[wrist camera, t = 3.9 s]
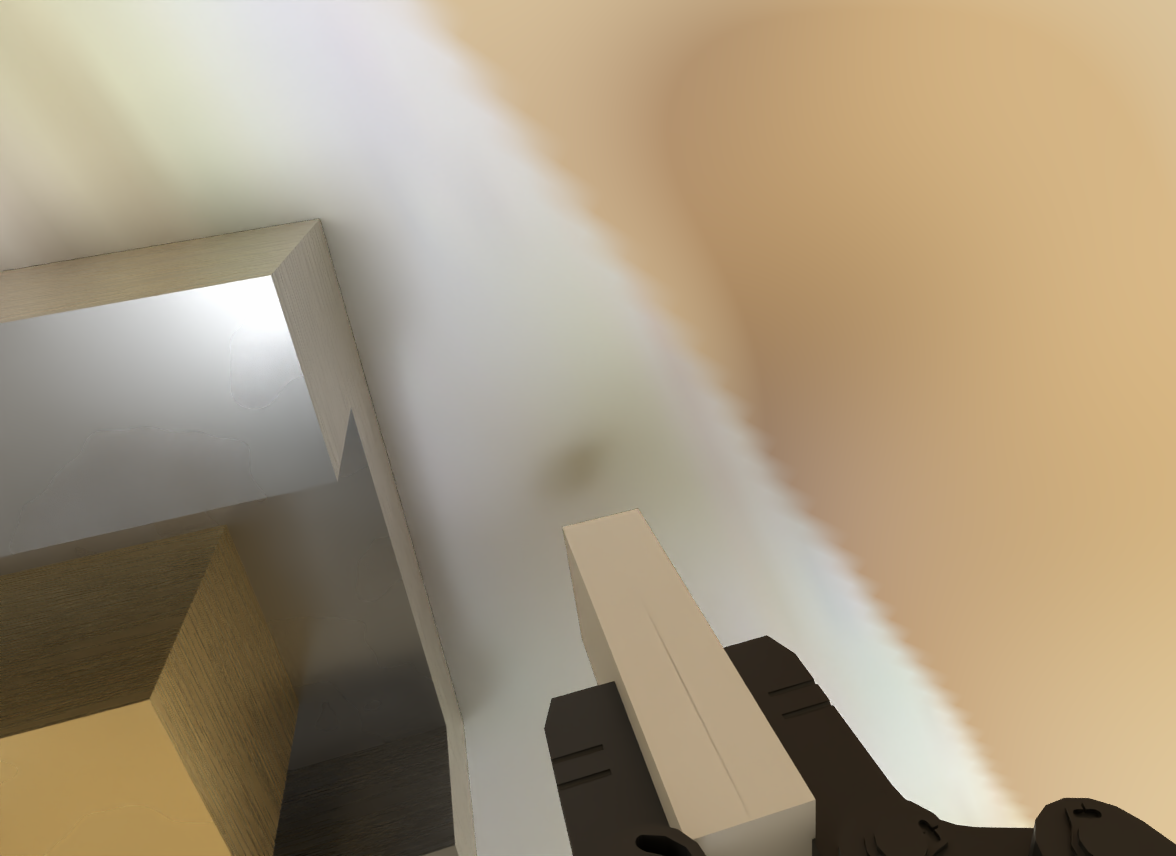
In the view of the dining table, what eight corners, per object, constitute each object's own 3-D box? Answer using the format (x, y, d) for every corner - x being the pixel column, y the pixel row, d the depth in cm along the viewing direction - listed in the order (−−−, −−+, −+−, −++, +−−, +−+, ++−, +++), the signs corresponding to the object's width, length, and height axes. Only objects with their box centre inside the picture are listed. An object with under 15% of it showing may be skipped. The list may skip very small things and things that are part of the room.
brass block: (71, 765, 14) (-59, 1014, 10) (-42, 585, 13) (-252, 804, 9) (299, 703, 15) (261, 914, 11) (225, 524, 13) (148, 699, 9)
